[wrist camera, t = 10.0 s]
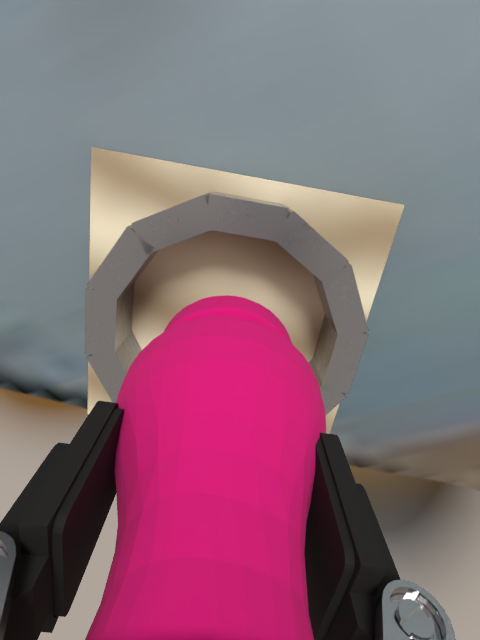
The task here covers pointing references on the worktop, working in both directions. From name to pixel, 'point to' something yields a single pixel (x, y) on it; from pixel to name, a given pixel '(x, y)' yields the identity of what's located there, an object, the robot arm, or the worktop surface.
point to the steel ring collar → (236, 218)
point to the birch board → (230, 247)
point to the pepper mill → (214, 481)
